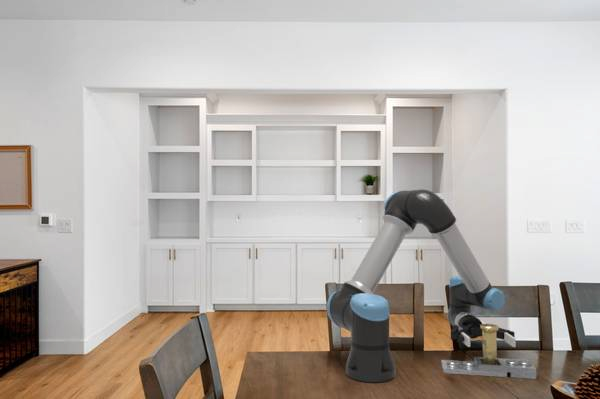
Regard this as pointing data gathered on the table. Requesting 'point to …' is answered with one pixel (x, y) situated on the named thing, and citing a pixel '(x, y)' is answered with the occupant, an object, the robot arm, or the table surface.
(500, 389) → the table surface
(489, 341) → the brass pin
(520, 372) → the chain end
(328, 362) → the table surface
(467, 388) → the table surface
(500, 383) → the table surface
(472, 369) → the chain end
